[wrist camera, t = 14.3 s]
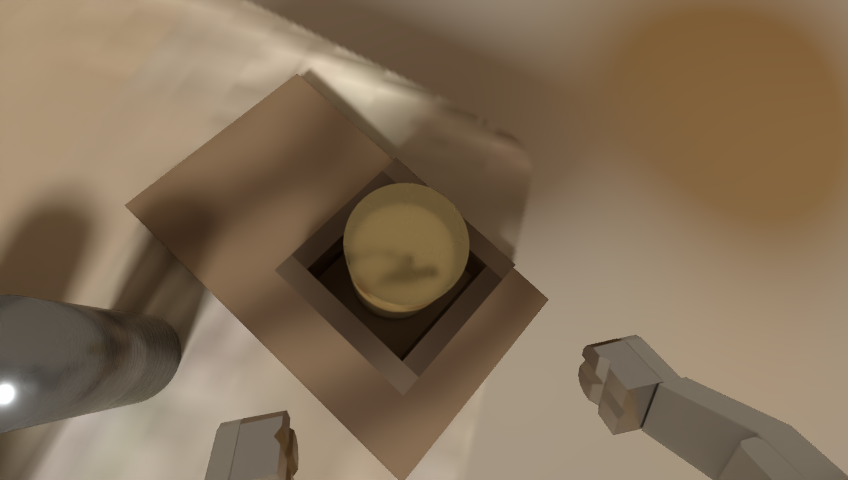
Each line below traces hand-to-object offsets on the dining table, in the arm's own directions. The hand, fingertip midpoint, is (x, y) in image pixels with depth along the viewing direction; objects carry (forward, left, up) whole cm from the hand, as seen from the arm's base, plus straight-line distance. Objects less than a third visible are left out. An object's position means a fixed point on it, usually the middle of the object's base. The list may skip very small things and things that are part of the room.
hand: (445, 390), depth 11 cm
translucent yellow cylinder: (-4, +3, -10) cm, 11 cm away
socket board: (-7, +2, -12) cm, 14 cm away
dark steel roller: (-11, -9, -12) cm, 18 cm away
